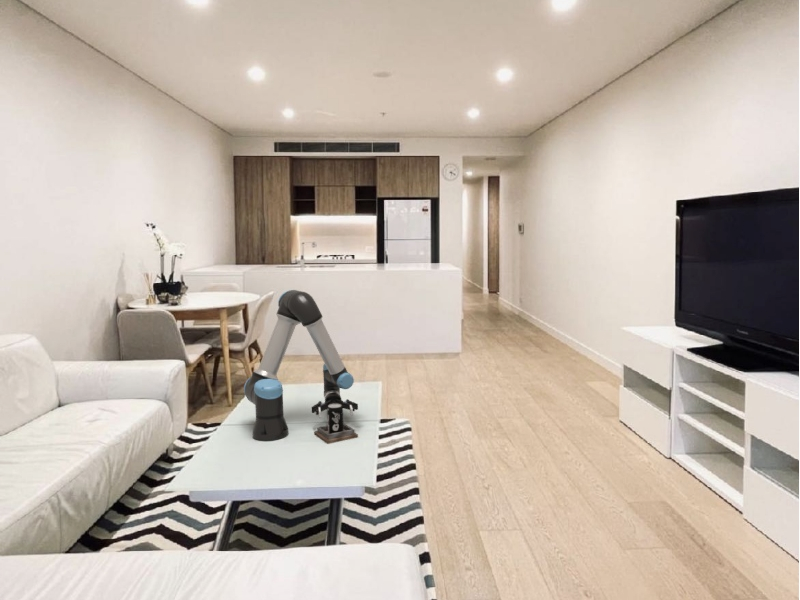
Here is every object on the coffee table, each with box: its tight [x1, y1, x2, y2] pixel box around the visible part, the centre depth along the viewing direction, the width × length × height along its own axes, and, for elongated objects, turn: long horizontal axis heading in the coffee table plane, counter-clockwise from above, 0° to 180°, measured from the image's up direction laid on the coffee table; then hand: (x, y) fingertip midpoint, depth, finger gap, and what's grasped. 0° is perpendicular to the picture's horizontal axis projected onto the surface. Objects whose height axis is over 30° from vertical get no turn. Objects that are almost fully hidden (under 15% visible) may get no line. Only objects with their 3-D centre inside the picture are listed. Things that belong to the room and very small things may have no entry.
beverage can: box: [326, 404, 344, 434], centre depth 242 cm, size 7×7×12 cm
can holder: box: [313, 422, 359, 445], centre depth 243 cm, size 14×14×3 cm
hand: (336, 413), depth 243 cm, fingers open, 13 cm apart
